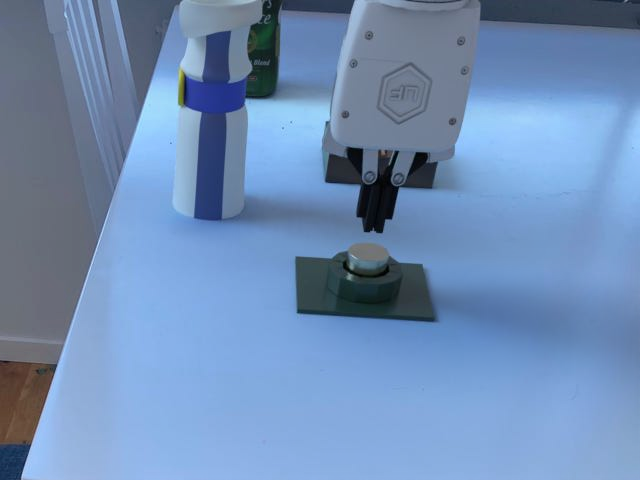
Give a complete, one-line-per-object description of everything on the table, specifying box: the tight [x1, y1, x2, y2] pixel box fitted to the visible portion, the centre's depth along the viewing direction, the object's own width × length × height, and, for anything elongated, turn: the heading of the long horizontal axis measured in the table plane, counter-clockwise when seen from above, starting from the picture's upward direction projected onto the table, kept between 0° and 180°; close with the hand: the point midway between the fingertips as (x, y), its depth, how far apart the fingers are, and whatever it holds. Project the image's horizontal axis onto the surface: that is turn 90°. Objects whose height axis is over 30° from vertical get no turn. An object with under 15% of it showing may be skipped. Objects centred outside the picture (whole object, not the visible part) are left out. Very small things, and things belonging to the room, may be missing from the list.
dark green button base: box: [294, 250, 436, 323], centre depth 86 cm, size 12×10×4 cm
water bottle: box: [172, 0, 262, 221], centre depth 92 cm, size 8×9×25 cm
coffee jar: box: [246, 0, 283, 97], centre depth 119 cm, size 10×8×19 cm
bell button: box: [345, 242, 390, 278], centre depth 84 cm, size 4×4×2 cm
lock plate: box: [321, 120, 439, 189], centre depth 108 cm, size 12×10×3 cm
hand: (371, 225), depth 81 cm, fingers closed
